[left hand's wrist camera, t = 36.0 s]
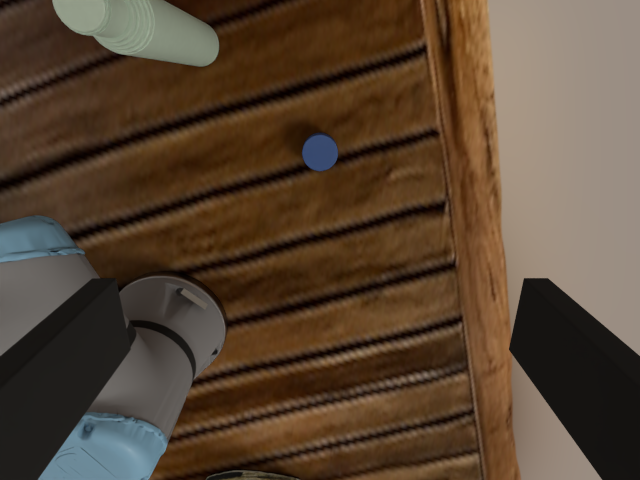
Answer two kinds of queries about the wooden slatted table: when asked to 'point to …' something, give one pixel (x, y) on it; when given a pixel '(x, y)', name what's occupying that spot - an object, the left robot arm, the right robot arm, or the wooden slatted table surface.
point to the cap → (320, 151)
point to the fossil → (248, 476)
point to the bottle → (142, 29)
